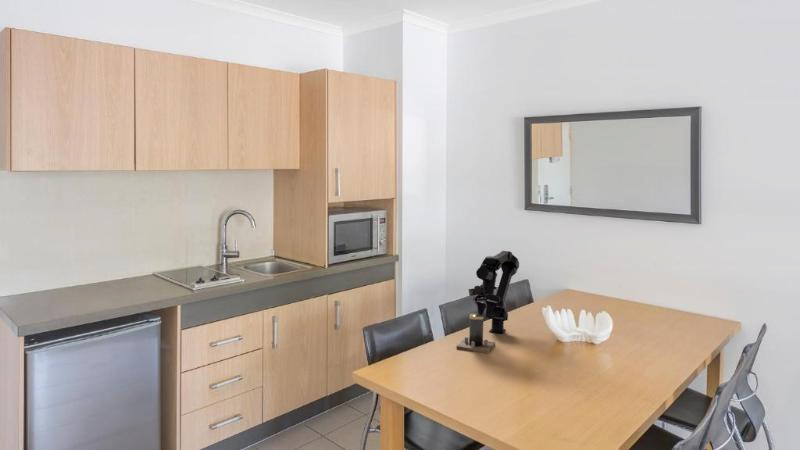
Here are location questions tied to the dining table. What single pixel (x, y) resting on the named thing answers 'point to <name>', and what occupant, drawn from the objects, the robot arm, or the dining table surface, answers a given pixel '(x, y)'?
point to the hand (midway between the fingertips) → (482, 317)
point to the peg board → (483, 349)
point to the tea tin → (476, 329)
